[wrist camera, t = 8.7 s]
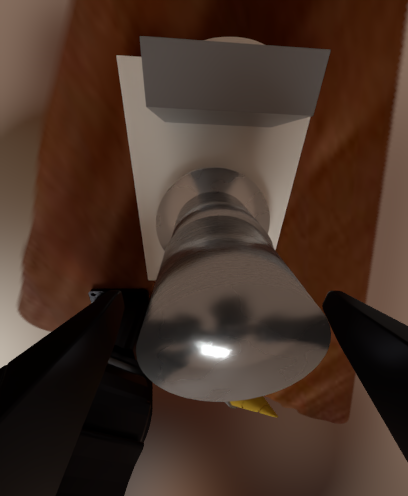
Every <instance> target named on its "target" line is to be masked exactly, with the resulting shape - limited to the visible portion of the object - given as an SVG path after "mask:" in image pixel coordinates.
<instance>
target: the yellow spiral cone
mask: <svg viewBox="0 0 408 496" xmlns="http://www.w3.org/2000/svg"><path fill="white" fill-rule="evenodd" d="M225 403H226V404H227V405H228V406H229V407H231V408H237V407H240V408H244V409H247V410H251V411H255V412H258V411H259V412H260V413H262V414H265V415H269V416H273V417H278V416H277V415H276V413H275V412H274V410H273V409H272V408H271V407H270V405H269V404H268V402H267V401H266V400H265V398H264V397H263V396H261V397H257V398H252V399H246V400H239V401H227V402H225Z"/></svg>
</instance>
